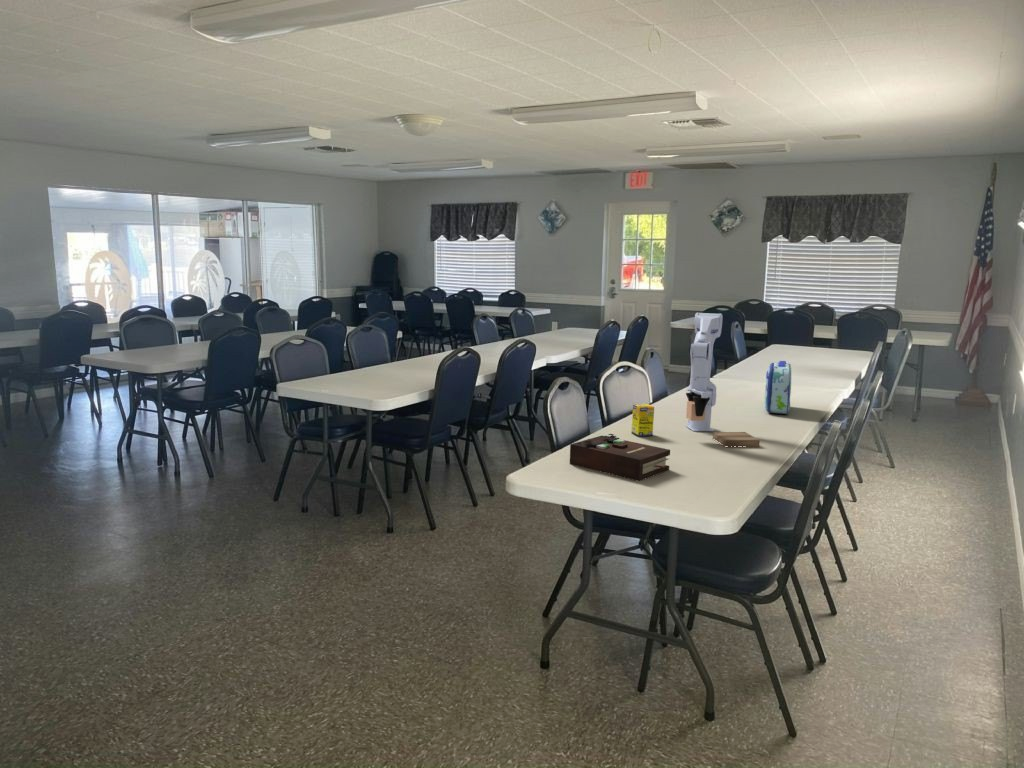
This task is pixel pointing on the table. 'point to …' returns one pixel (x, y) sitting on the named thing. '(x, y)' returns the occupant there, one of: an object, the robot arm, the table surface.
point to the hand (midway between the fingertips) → (696, 414)
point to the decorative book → (619, 457)
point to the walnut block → (736, 439)
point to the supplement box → (642, 420)
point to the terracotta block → (693, 412)
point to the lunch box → (778, 388)
